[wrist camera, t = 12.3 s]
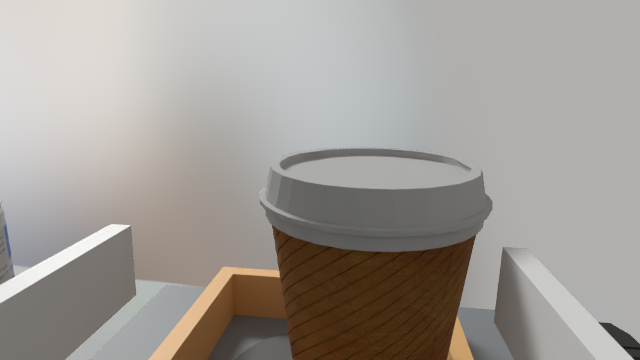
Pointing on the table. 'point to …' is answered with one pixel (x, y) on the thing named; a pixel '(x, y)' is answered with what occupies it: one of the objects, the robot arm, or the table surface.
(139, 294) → the table surface
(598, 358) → the robot arm
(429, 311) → the disposable coffee cup
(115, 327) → the table surface
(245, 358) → the grey platform
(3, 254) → the supplement tub
